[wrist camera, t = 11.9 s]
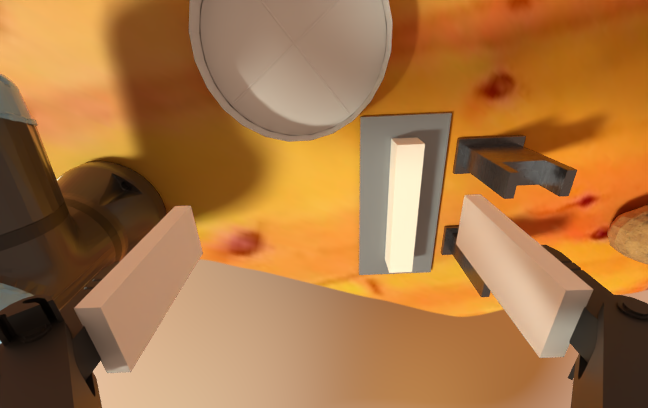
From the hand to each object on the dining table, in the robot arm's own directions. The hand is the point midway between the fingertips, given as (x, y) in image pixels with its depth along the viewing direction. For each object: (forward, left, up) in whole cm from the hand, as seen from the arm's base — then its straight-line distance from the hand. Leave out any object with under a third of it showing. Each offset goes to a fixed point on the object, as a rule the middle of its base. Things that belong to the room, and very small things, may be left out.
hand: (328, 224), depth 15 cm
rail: (+11, -13, -28) cm, 33 cm away
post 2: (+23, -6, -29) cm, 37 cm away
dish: (-3, +9, -29) cm, 31 cm away
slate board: (+11, -13, -29) cm, 33 cm away
